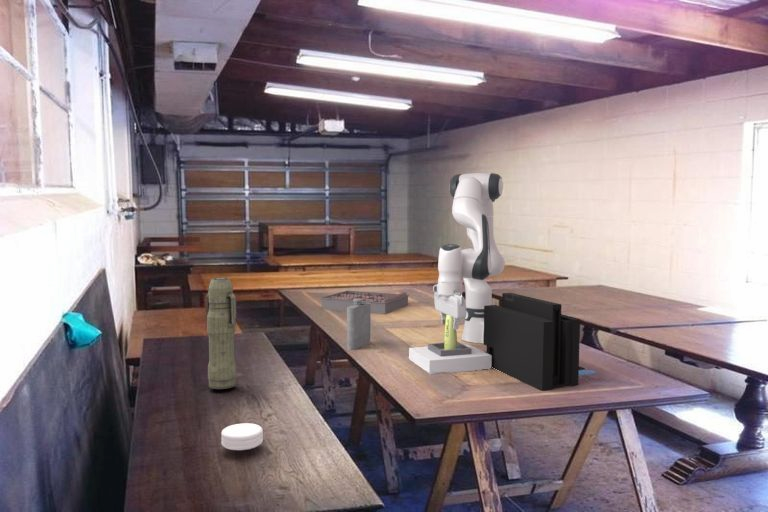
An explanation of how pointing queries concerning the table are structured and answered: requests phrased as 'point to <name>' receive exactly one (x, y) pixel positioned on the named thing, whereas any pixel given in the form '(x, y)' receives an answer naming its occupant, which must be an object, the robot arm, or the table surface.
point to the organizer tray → (365, 301)
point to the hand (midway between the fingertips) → (449, 326)
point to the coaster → (242, 436)
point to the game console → (533, 342)
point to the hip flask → (358, 325)
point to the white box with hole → (449, 358)
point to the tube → (450, 334)
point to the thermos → (221, 333)
